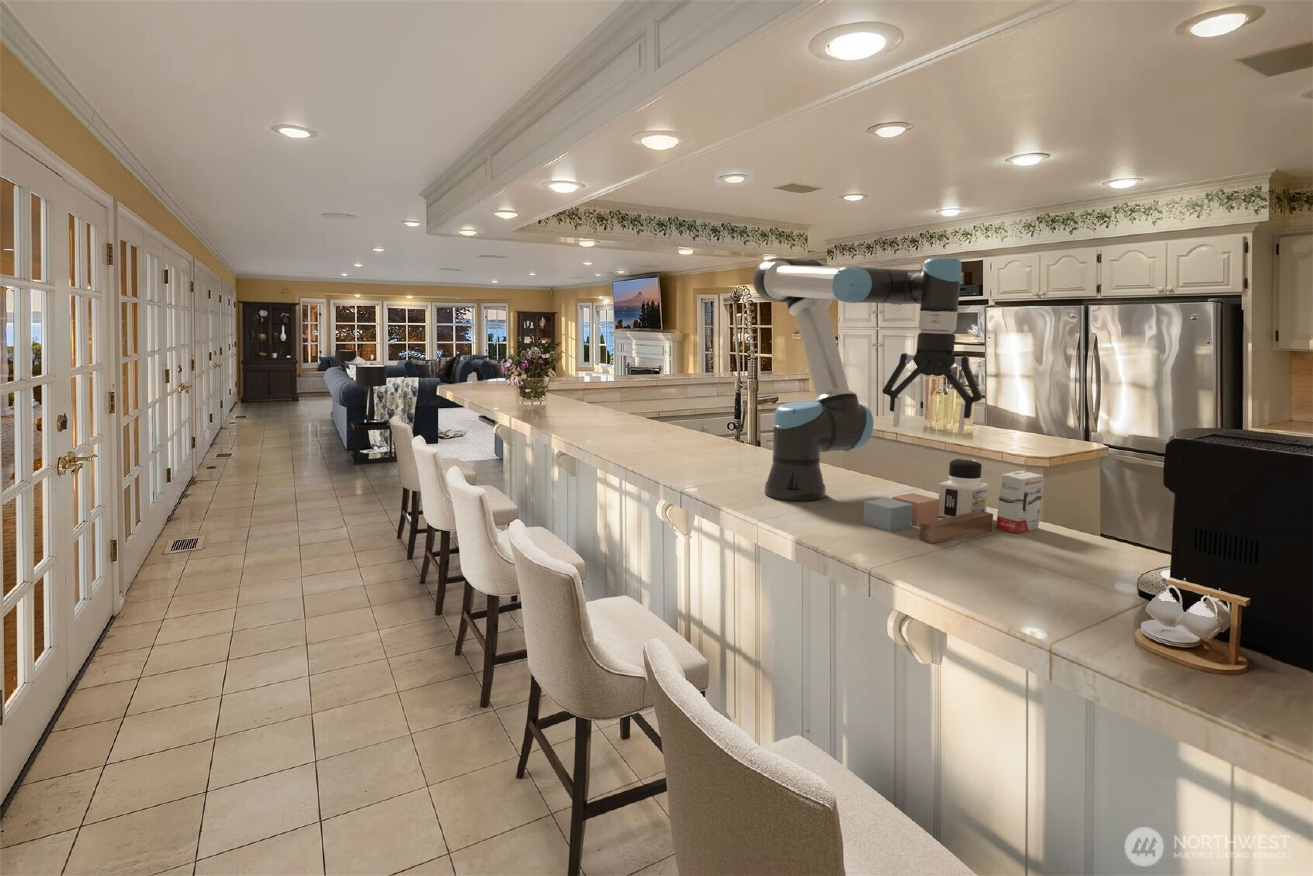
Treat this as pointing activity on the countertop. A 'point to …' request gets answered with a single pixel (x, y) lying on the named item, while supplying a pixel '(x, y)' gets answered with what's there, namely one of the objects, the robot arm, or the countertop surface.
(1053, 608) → the countertop surface
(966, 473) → the container
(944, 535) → the walnut board
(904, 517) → the slate block
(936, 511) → the terracotta block
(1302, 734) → the countertop surface
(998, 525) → the ink box
